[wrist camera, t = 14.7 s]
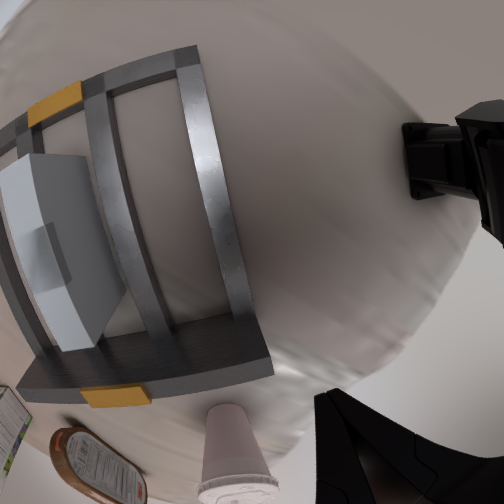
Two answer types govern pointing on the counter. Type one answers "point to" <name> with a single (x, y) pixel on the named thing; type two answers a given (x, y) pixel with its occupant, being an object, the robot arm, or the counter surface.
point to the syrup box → (10, 430)
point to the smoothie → (233, 461)
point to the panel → (62, 245)
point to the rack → (139, 260)
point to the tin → (96, 468)
